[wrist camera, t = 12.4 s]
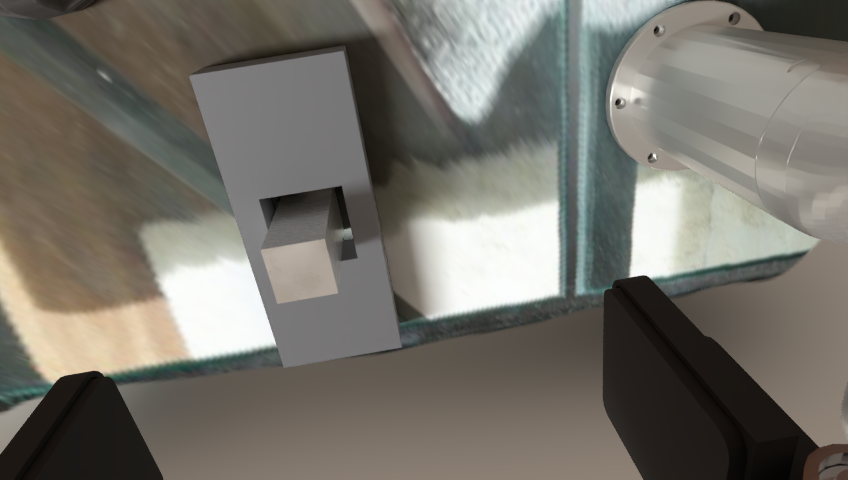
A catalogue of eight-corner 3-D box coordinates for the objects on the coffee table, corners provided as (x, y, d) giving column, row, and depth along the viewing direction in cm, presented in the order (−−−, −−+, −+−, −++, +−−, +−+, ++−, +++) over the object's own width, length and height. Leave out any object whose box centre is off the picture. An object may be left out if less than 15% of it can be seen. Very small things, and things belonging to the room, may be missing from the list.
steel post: (333, 183, 42) (324, 238, 33) (343, 229, 44) (338, 293, 35) (282, 192, 42) (260, 249, 33) (295, 237, 44) (277, 303, 35)
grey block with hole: (345, 45, 38) (343, 50, 35) (399, 323, 48) (401, 347, 45) (203, 67, 38) (189, 75, 34) (289, 342, 48) (284, 367, 45)
